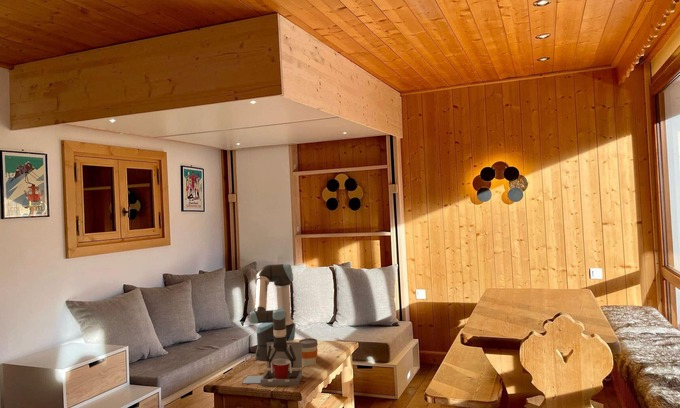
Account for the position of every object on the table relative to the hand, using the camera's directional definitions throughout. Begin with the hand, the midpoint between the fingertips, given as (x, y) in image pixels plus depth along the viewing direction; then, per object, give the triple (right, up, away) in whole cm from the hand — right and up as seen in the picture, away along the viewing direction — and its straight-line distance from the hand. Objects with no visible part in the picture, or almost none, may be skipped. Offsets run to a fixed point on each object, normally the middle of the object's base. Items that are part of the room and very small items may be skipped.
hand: (281, 372), depth 321 cm
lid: (+1, +7, +8) cm, 11 cm away
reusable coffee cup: (+15, -4, +30) cm, 33 cm away
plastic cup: (0, -5, 0) cm, 5 cm away
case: (0, -5, 0) cm, 5 cm away
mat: (-17, -6, +3) cm, 18 cm away
